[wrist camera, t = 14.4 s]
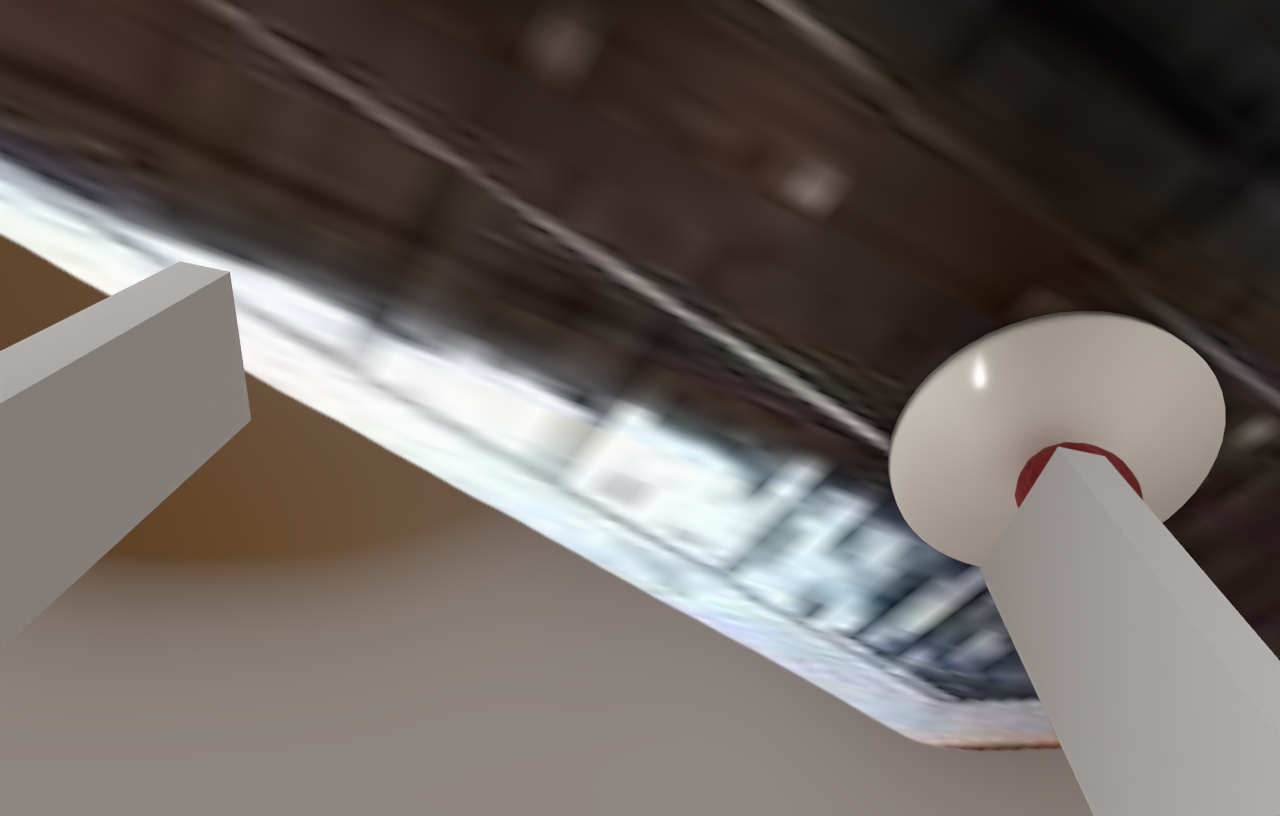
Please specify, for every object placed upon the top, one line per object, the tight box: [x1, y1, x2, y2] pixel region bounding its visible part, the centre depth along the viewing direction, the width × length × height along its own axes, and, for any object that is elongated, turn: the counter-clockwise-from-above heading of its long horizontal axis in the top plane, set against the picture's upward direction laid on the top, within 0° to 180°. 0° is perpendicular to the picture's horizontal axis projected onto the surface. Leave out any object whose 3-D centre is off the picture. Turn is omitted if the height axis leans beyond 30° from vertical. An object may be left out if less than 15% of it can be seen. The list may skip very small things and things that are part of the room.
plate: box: [887, 311, 1225, 567], centre depth 41 cm, size 18×18×1 cm
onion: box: [1015, 442, 1143, 509], centre depth 37 cm, size 6×6×8 cm
